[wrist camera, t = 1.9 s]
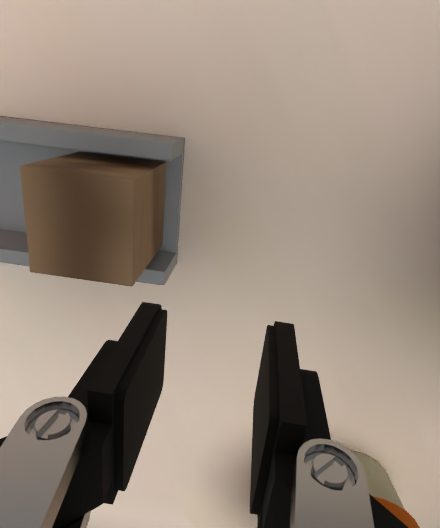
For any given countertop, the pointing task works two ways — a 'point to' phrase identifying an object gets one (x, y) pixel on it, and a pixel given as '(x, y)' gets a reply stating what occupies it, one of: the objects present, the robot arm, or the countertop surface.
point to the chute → (93, 141)
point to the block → (93, 215)
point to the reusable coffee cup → (384, 489)
